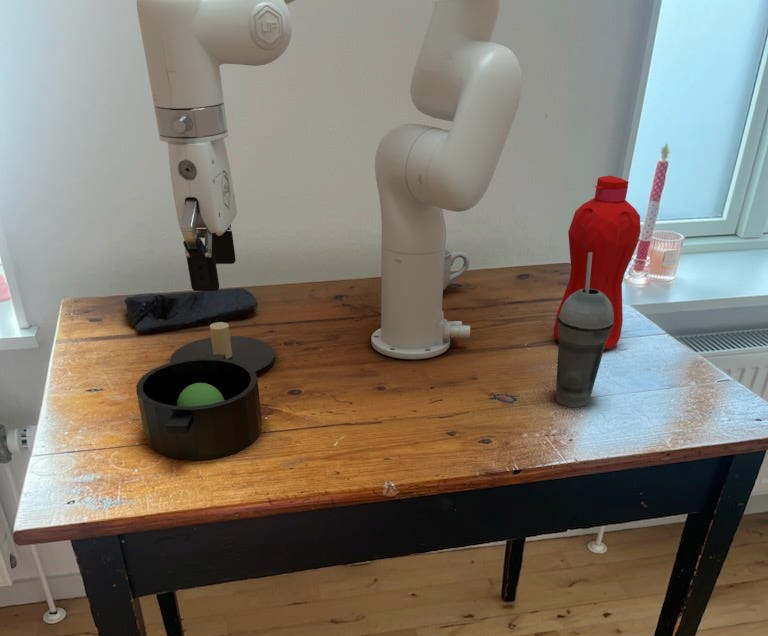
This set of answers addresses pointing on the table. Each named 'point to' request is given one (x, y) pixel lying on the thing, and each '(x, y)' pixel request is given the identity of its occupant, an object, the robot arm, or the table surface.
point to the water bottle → (603, 246)
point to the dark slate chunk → (188, 308)
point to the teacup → (449, 262)
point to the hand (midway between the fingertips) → (215, 276)
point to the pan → (200, 409)
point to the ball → (199, 395)
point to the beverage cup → (581, 342)
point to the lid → (229, 349)
